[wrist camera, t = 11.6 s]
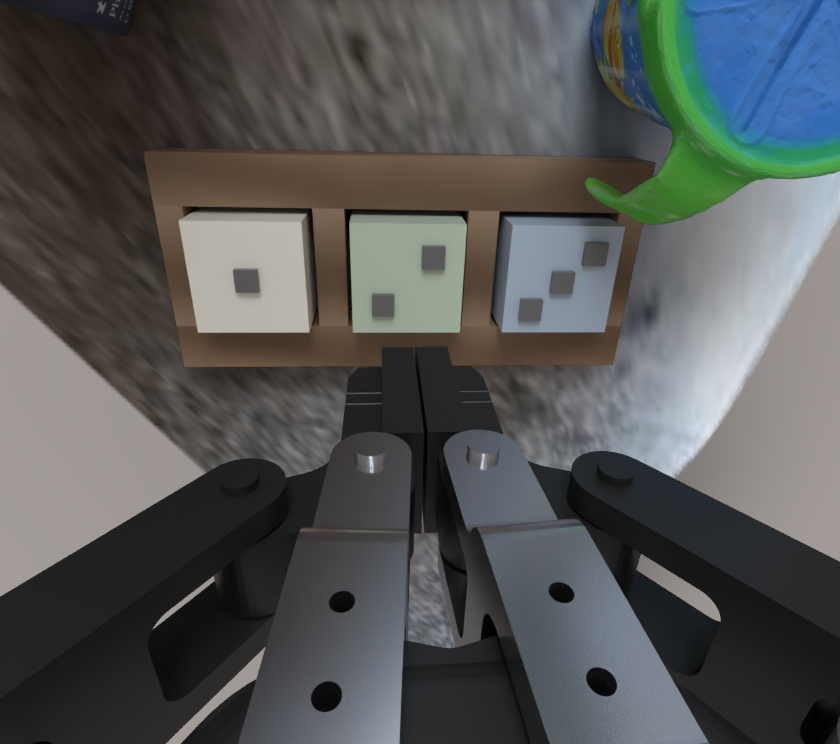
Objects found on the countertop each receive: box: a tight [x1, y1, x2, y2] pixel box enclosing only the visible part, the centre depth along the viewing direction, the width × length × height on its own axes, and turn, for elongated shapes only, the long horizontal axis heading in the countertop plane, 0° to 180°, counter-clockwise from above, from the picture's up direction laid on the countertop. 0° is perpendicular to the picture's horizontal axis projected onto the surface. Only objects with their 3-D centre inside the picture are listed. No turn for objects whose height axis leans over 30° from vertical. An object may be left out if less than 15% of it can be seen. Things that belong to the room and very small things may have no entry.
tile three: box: [491, 211, 625, 332], centre depth 26 cm, size 5×5×4 cm
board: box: [143, 147, 655, 367], centre depth 26 cm, size 10×22×2 cm, turn 89°
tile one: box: [179, 207, 317, 333], centre depth 25 cm, size 5×5×4 cm
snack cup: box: [585, 0, 840, 225], centre depth 19 cm, size 16×10×10 cm
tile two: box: [349, 209, 467, 333], centre depth 25 cm, size 5×5×4 cm
